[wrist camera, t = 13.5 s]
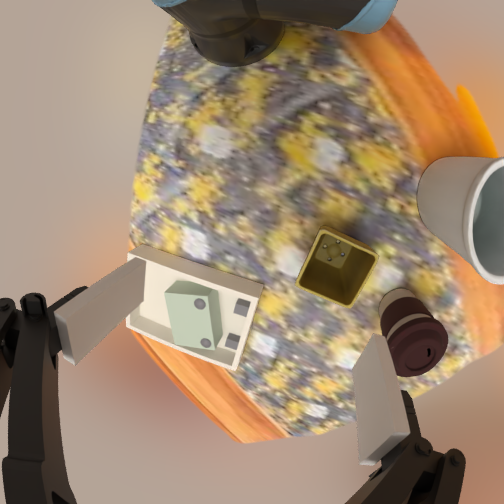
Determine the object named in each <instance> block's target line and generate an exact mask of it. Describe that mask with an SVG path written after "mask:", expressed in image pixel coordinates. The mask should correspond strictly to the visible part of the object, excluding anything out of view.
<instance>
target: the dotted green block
mask: <svg viewBox="0 0 504 504" xmlns="http://www.w3.org/2000/svg"><path fill="white" fill-rule="evenodd" d="M164 295H165V300H166V305H167V310H168V315H169V320H170V325H171V329H172V334H173V338H174V342H175V344H176V345H182V346H188V347H195V348H201V349H208V350H215V349H216V347H217V346H218V344H219V342H220V340H221V338H222V336H223V330H222V322H221V313H220V304H219V294H218V290H215V289H212V288H209V287H206V286H203V285H200V284H197V283H195V282H191V281H177V280H176V281H175V282H174V283H173V284H172V285H171V286H170V287H169V288H168V289H167V290H166V291H165V292H164Z"/></svg>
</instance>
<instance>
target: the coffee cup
mask: <svg viewBox="0 0 504 504" xmlns="http://www.w3.org/2000/svg"><path fill="white" fill-rule="evenodd" d="M379 315H380V320H381V321H380V324H381V330H382V335H383V336H385V338H386V341H387V344H388V348H389V351H390V354H391V358H392V361H393V364H394V368H395V371H396V375H397V376H401V377H412V376H418V375H422V374H424V373H426V372H428V371H429V370H431V369H432V368H433V367H434V366H435V365H436V364H437V363H438V362H439V361H440V359H441V358H442V356H443V355H444V353H445V351H446V349H447V345H448V335H447V332H446V330H445V328H444V327H443V325H442V324H441V323H440V322H439V321H438V320H436V319H434V317H433V316H432V315H431V313H430V312H429V311H428V310H427V308H426V307H425V306H424V305H423V303H422V302H421V301H420V300H418V299H417V298H416V297H415V296H414V294H413V293H412V292H411V291H409V290H407V289H395V290H393V291H391V292H389V293H388V294H386V295H385V296H384V298H383V299H382V301H381V303H380V306H379Z"/></svg>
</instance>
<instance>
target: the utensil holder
mask: <svg viewBox="0 0 504 504" xmlns="http://www.w3.org/2000/svg"><path fill="white" fill-rule="evenodd" d="M417 204H418V210H419V214H420V217H421V219H422V221H423V223H424V224H425V226H426V227H427V228H428V229H429V230H430V231H431V232H432V233H433V234H434V235H435V236H437V237H438V238H439V239H440V240H441V241H443V242H444V243H445V244H446V245H448V246H449V247H450V248H451V249H453V250H454V251H455V252H457V253H458V254H459V255H460V256H461V257H463V258H464V259H465V260H466V261H467V262H468V263H470V264H471V265H472V266H473V268H474V269H475V270H476V272H477V273H478V274H479V275H480V276H482V277H483V278H484V279H485V280H487V281H489V282H491V283H494V284H504V157H500V158H483V157H444V158H441V159H438V160H436V161H434V162H433V163H432V164H431V165H430V166H429V167H428V168H427V169H426V170H425V172H424V173H423V175H422V177H421V179H420V182H419V186H418V192H417Z"/></svg>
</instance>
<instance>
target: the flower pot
mask: <svg viewBox="0 0 504 504" xmlns="http://www.w3.org/2000/svg"><path fill="white" fill-rule="evenodd" d="M337 240H339V241H340V243H337V242H336V241H337ZM323 245H326V246H327V247H326V248H324V247H323ZM341 253H344V256H341ZM328 258H331V260H330V261H329V260H328ZM378 259H379V255H378V254H377V253H376V252H375V251H374V250H373V249H371V248H370V247H369V246H368V245H366V244H365V243H362V242H360V241H358V240H356V239H353V238H351V237H349V236H347V235H345V234H343V233H340V232H338V231H336V230H334V229H332V228H330V227H328V226H325V225H323V226H321V227H320V229H319V232H318V234H317V236H316V238H315V241H314V243H313V245H312V247H311V249H310V252H309V254H308V256H307V258H306V260H305V262H304V264H303V266H302V268H301V270H300V273H299V275H298V277H297V280H296V282H295V286H296V287H298V288H300V289H302V290H304V291H307V292H309V293H312V294H314V295H316V296H319V297H321V298H323V299H326V300H328V301H331V302H333V303H335V304H338V305H340V306H342V307H345V308H349V309H350V308H351V307H352V306H353V304H354V303H355V301H356V299H357V298H358V296H359V294H360V292H361V291H362V289H363V287H364V285H365V283H366V282H367V280H368V278H369V276H370V275H371V273H372V271H373V269H374V268H375V266H376V264H377V262H378Z"/></svg>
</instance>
